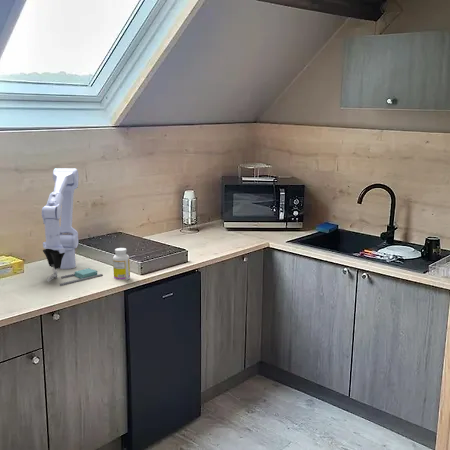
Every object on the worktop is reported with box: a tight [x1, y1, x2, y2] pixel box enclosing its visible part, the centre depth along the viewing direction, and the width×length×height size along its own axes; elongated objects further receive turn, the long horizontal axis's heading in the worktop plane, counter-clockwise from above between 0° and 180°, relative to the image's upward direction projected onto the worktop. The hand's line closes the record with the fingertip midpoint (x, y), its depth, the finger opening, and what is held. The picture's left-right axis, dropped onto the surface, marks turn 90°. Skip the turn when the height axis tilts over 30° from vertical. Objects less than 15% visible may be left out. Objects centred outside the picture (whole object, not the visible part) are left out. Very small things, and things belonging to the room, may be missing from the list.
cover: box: [74, 267, 98, 279], centre depth 239 cm, size 6×7×3 cm
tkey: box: [46, 262, 58, 282], centre depth 232 cm, size 10×1×7 cm, turn 175°
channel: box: [59, 272, 103, 287], centre depth 236 cm, size 9×19×2 cm, turn 134°
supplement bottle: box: [112, 247, 131, 281], centre depth 236 cm, size 7×7×13 cm
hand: (54, 267), depth 235 cm, fingers closed on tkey, 4 cm apart
